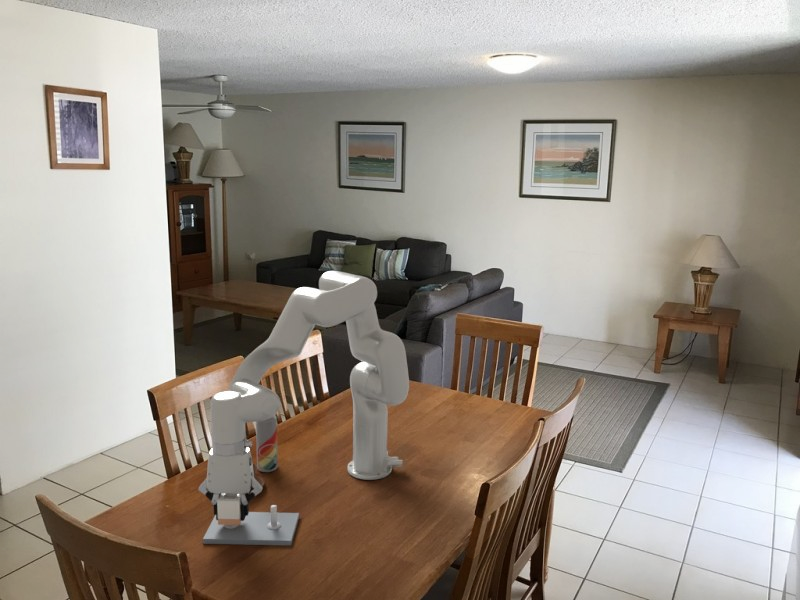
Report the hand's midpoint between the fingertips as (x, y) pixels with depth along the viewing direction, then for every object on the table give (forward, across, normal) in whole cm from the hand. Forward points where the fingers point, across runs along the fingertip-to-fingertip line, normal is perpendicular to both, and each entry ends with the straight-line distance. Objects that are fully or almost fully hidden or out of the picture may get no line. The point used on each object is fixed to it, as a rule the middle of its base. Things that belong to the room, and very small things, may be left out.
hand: (231, 516), depth 155 cm
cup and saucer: (+4, +2, -20) cm, 20 cm away
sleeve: (+1, 0, 0) cm, 1 cm away
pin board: (+3, -5, 0) cm, 6 cm away
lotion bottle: (+4, -2, -32) cm, 32 cm away
